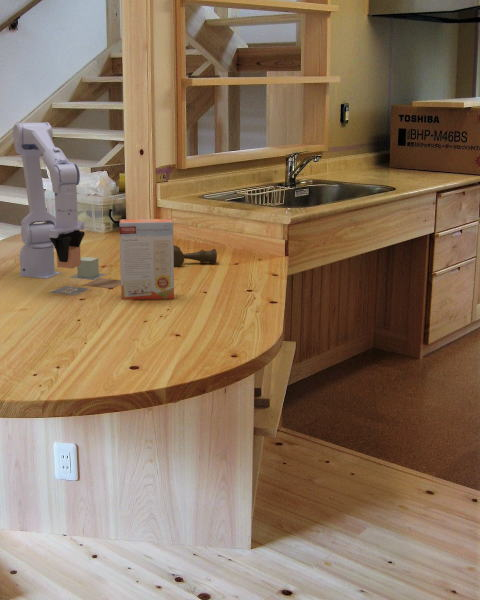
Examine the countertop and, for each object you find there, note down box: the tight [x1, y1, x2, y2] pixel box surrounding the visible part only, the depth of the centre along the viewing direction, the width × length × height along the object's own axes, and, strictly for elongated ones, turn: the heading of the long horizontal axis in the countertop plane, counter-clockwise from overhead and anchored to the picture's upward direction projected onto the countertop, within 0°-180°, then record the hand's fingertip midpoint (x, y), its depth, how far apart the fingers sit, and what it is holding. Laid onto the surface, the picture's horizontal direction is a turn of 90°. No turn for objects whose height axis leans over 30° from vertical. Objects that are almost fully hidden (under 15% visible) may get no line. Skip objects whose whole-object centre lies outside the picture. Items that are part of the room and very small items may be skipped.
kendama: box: [173, 244, 218, 268], centre depth 251 cm, size 6×10×20 cm
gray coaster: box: [69, 272, 107, 281], centre depth 233 cm, size 8×8×1 cm
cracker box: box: [118, 218, 175, 301], centre depth 209 cm, size 14×6×21 cm, turn 97°
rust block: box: [56, 246, 82, 269], centre depth 213 cm, size 4×4×5 cm
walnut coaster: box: [84, 277, 121, 289], centre depth 224 cm, size 9×9×1 cm
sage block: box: [76, 256, 100, 278], centre depth 232 cm, size 4×4×5 cm
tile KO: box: [48, 285, 90, 296], centre depth 216 cm, size 8×8×1 cm
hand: (68, 259), depth 213 cm, fingers closed on rust block, 4 cm apart
